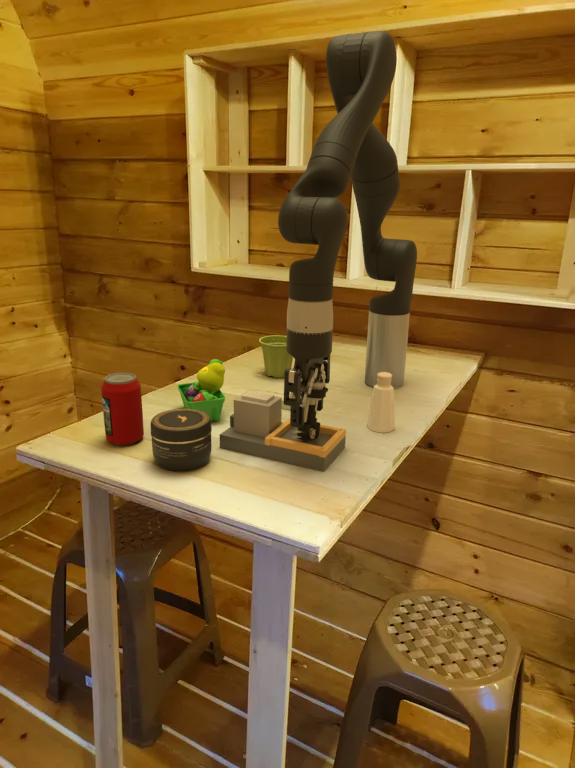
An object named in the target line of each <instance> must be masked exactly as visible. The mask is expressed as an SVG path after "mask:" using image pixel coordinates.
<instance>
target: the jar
mask: <svg viewBox="0 0 575 768" xmlns="http://www.w3.org/2000/svg"><path fill="white" fill-rule="evenodd" d="M212 428H213V427H212V422H211V419H210V417H209V415H208V414H207V413H205V412H203V411H200V410H196V409H185V408H173V409H168V410H165V411H162V412H159V413H157V414H156V415H154V416H153V417H152V419H151V420H150V436H151V447H152V455H153V458H154V460H155V463H156V464H157V465H158V466H159V467H160V468H162V469H163V470H166V471H169V472H189V471H193V470H197V469H200V468H201V467H204V466H205V465H206V464H207V462H209V460H210V457H211V455H212V432H213V429H212Z"/></svg>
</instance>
